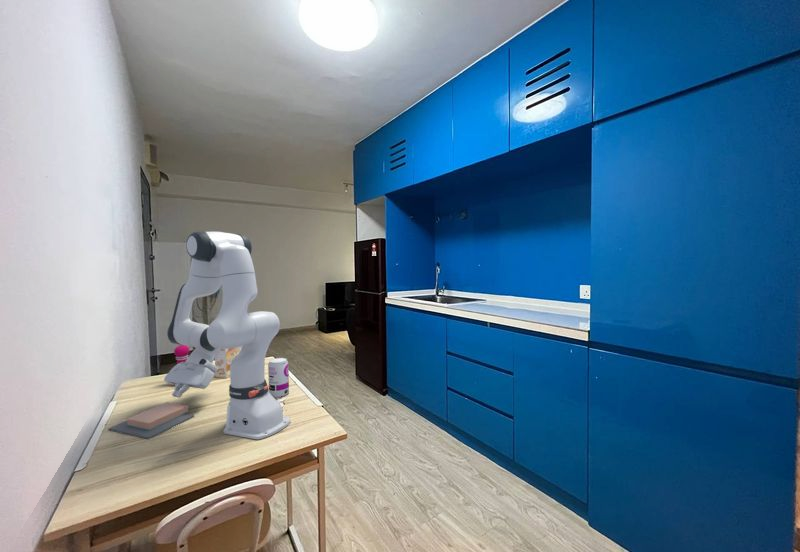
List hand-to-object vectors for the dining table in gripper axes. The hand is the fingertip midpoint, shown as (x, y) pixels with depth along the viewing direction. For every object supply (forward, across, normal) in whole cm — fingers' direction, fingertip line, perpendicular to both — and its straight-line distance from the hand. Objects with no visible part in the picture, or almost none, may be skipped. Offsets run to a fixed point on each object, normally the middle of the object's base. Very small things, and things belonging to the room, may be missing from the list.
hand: (175, 396), depth 123 cm
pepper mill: (-12, -27, +21) cm, 36 cm away
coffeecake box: (-25, -16, +34) cm, 45 cm away
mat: (+10, 0, -2) cm, 11 cm away
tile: (+3, 0, +4) cm, 5 cm away
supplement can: (-14, +26, +23) cm, 38 cm away
